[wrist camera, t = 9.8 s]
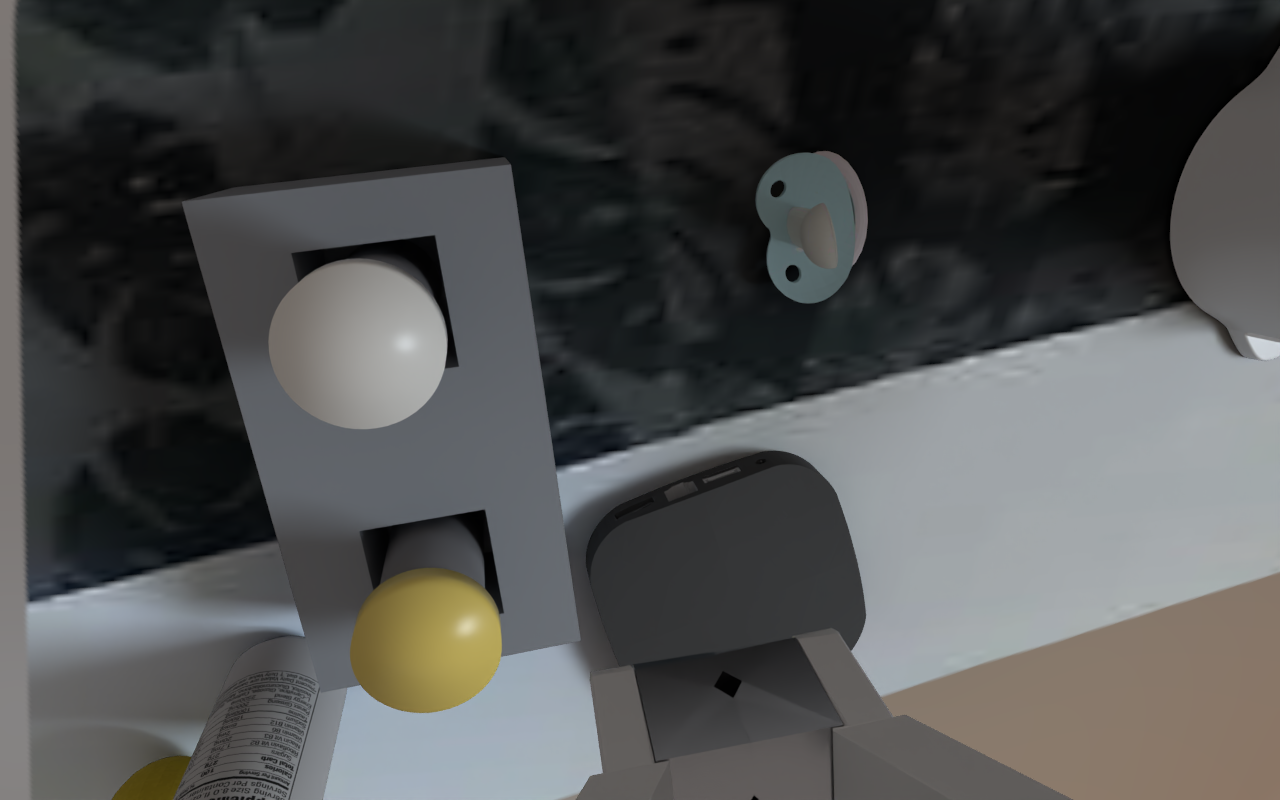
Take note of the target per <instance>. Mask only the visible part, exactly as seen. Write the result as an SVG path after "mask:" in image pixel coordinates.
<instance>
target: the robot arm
mask: <svg viewBox="0 0 1280 800" xmlns="http://www.w3.org/2000/svg"><path fill="white" fill-rule="evenodd" d="M1170 244H1171V253H1172V258H1173V263H1174V267H1175V270H1176V273H1177V276H1178V278H1179V280H1180V283H1181V285H1182V286H1183V288H1184V290H1185V291H1186V293H1187V294H1188V296H1189V297H1190V298H1191V299H1192V300H1193V302H1194V303H1195V304H1196V305H1197V306H1198V307H1200V308H1201V309H1202V310H1203V311H1205V312H1206V313H1208V314H1209V315H1211V316H1212V317H1214V318H1216V319H1217V320H1219V321H1220V322H1221V323H1223V324H1224V325H1225V326H1226V327H1227V329H1228V331H1229V333H1230V336H1231V338H1232V340H1233V342H1234V344H1235V346H1236V347H1237V349H1238V351H1239V352H1240V353H1241V354H1242V355H1243V356H1244V357H1246V358H1249V359H1254V360H1260V361H1269V360H1272V359H1275V358H1278V357H1280V47H1279V49H1278V50H1277V52H1276V54H1275V55H1274V57H1273V58H1272V60H1271V62H1270V63H1269V65H1268V66H1267V68H1266V69H1265V70H1264V71H1263V72H1262V74H1261V75H1260V76H1259V77H1257V78H1256V79H1255V80H1254V81H1253V82H1252V83H1251V84H1250V85H1248V86H1247V87H1246V88H1245V89H1243V90H1242V91H1241V92H1240V93H1239V94H1238V95H1236V96H1235V97H1234V98H1233V99H1232V100H1231V101H1230V102H1229V103H1228V104H1227V105H1226V106H1225V107H1224V108H1223V109H1222V110H1221V111H1220V112H1219V113H1218V114H1217V116H1216V117H1215V118H1214V119H1213V120H1212V122H1211V123H1210V124H1209V126H1208V127H1207V128H1206V130H1205V131H1204V132H1203V134H1202V135H1201V137H1200V138H1199V140H1198V142H1197V143H1196V145H1195V147H1194V149H1193V151H1192V152H1191V154H1190V156H1189V158H1188V160H1187V163H1186V165H1185V167H1184V170H1183V172H1182V175H1181V177H1180V180H1179V183H1178V186H1177V190H1176V194H1175V197H1174V202H1173V207H1172V214H1171V223H1170ZM590 684H591V691H592V698H593V705H594V712H595V719H596V726H597V733H598V741H599V748H600V755H601V762H602V769H603V773H602V774H597V775H593V776H590V777H589V779H588V781H587V782H586V784H585V786H584V787H583V789H582V790H581V792H580V794H579V795H578V797H577V799H576V800H1073V799H1071V798H1069V797H1067V796H1065V795H1063V794H1061V793H1059V792H1057V791H1055V790H1053V789H1051V788H1049V787H1047V786H1045V785H1043V784H1041V783H1039V782H1037V781H1035V780H1033V779H1031V778H1029V777H1027V776H1025V775H1023V774H1021V773H1019V772H1017V771H1015V770H1013V769H1011V768H1010V767H1008V766H1005V765H1004V764H1001V763H1000V762H998V761H996V760H993V759H992V758H990V757H988V756H986V755H984V754H982V753H980V752H978V751H976V750H974V749H972V748H970V747H968V746H966V745H964V744H962V743H960V742H958V741H956V740H954V739H952V738H950V737H948V736H946V735H944V734H943V733H940V732H939V731H937V730H935V729H933V728H931V727H929V726H927V725H925V724H923V723H921V722H919V721H916V720H915V719H913V718H911V717H909V716H907V715H901V716H896V717H893V716H892V714H891V712H890V711H889V709H888V708H887V706H886V705H885V703H884V702H883V700H882V699H881V697H880V696H879V694H878V692H877V691H876V689H875V688H874V686H873V685H872V683H871V682H870V680H869V679H868V677H867V675H866V674H865V672H864V671H863V669H862V668H861V666H860V665H859V663H858V662H857V660H856V659H855V657H854V655H853V654H852V652H851V651H850V649H849V648H848V646H847V645H846V643H845V642H844V640H843V639H842V637H841V635H840V634H839V632H838V631H836V630H834V629H832V628H829V629H824V630H820V631H815V632H810V633H805V634H801V635H796V636H792V638H788V639H782V640H777V641H772V642H766V643H761V644H755V645H750V646H745V647H739V648H734V649H729V650H723V651H718V652H708V653H702V654H696V655H689V656H683V657H677V658H670V659H664V660H658V661H651V662H645V663H639V664H633V668H632V667H631V665H628V666H622V667H616V668H610V669H605V670H599V671H593V672H590Z"/></svg>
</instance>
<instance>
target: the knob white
mask: <svg viewBox="0 0 1280 800" xmlns="http://www.w3.org/2000/svg"><path fill="white" fill-rule="evenodd" d="M440 294H441V281H440V276H439V272H438V270H437V267H436V265H435V264H434V262H433V260H432V259H431V258H430V256H429V255H428V254H427V253H426V252H425V251H424V250H422V249H421V248H420V247H418V246H417V245H415V244H414V243H411V242H409V241H407V240H404V239H400V240H391V241H383V242H375V243H367V244H362V245H361V246H359V247H358V248H357V249H356V250H355V251H354V252H353V253H352V254H351V255H350V256H349V257H348V258H347V259H345V260H339V261H335V262H332V263H329V264H326V265H324V266H322V267H319V268H317V269H315V270H314V271H312V272H311V273H309V274H308V275H306V276H305V277H304V278H303V279H302V280H301V281H300V282H299V283H298V284H296V285H295V286H294V287H293V288H292V289H291V290H290V291H289V292H288V293H287V294H286V296H285V297H284V298H283V299H282V301H281V302H280V304H279V306H278V307H277V309H276V311H275V314H274V316H273V318H272V322H271V326H270V330H269V340H268V343H269V355H270V360H271V364H272V367H273V370H274V373H275V375H276V377H277V379H278V381H279V383H280V384H281V386H282V387H283V389H284V390H285V392H286V393H287V394H288V395H289V397H290V398H291V399H292V400H293V401H294V402H295V403H296V404H297V405H298V406H300V407H301V408H302V409H303V410H305V411H306V412H308V413H309V414H311V415H312V416H314V417H316V418H318V419H320V420H322V421H324V422H327V423H329V424H332V425H336V426H340V427H343V428H351V429H374V428H380V427H385V426H389V425H392V424H394V423H397V422H400V421H402V420H404V419H406V418H408V417H409V416H411V415H412V414H414V413H415V412H417V411H418V410H419V409H420V408H421V407H422V406H423V405H424V404H425V403H426V402H427V401H428V400H429V399H430V398H431V396H432V395H433V393H434V392H435V390H436V389H437V387H438V385H439V383H440V381H441V378H442V375H443V372H444V368H445V362H446V355H447V342H448V337H447V329H446V324H445V320H444V317H443V315H442V312H441V310H440V307H439V306H438V305H439V300H440Z"/></svg>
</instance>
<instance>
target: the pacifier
mask: <svg viewBox="0 0 1280 800" xmlns="http://www.w3.org/2000/svg"><path fill="white" fill-rule="evenodd" d="M778 180H781V181H782V182H783V183H784V190H783V192H782V193H781V194H780V195H779V196H778V197H773V196H772V195H771V192H770V190H771V186H772V185H773V183H775V182H776V181H778ZM755 202H756V209H757V212H758V214H759V217H760V219H761V220H762V222H763V223H764V225H765V226H766V227H767V228H768V229H769V231H770V240H769V243H768V246H767V253H766V262H767V268H768V272H769V275H770V277H771V279H772V281H773V283H774V284H775V286H776V287H777V288H778V289H779V290H780V291H781V292H782V293H783V294H784V295H785V296H787V297H788V298H790V299H792V300H794V301H797V302H800V303H817V302H820V301H823V300H825V299H827V298H829V297H830V296H832V295H833V294H834V293H835V292H836V291H838V289H839V288H840V287H841V286H842V285H843V283H844V282H845V280H846V279H847V277H848V275H849V272H850V270H851V267H852V266H853V265H854V264H855V263H856V261H857V259H858V257H859V255H860V253H861V252H862V249H863V246H864V242H865V239H866V233H867V224H868V215H867V203H866V199H865V195H864V190H863V187H862V185H861V183H860V181H859V178H858V176H857V174H856V173H855V171H854V170H853V168H852V167H851V166H850V164H849V163H848V162H847V161H846V160H844V159H843V158H842V157H841V156H840V155H838V154H835V153H832V152H830V151H819V152H815V153H796V154H792V155H789V156H786V157H784V158H782V159H780V160H779V161H777V162H775V163H774V164H773V165H772V166H771V167H770V168H769V169H768V170H767V171H766V172H765V173H764V175H763V176H762V178H761V180H760V182H759V184H758V187H757V190H756V197H755ZM790 265H796V266H797V268H798V269H799V277H798V279H797V280H796V281H794V282H790V281H788V280H787V278H786V275H785V271H786V269H787V267H788V266H790Z"/></svg>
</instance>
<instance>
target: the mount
mask: <svg viewBox="0 0 1280 800" xmlns="http://www.w3.org/2000/svg"><path fill="white" fill-rule="evenodd" d="M182 205H183V209H184V212H185V216H186V219H187V223H188V226H189V230H190V233H191V237H192V241H193V244H194V248H195V251H196V255H197V258H198V262H199V265H200V269H201V272H202V276H203V279H204V283H205V286H206V290H207V293H208V297H209V300H210V304H211V307H212V311H213V314H214V318H215V321H216V325H217V329H218V332H219V336H220V339H221V343H222V346H223V350H224V353H225V357H226V360H227V364H228V367H229V371H230V374H231V378H232V381H233V385H234V388H235V392H236V395H237V399H238V402H239V406H240V409H241V413H242V417H243V420H244V424H245V427H246V431H247V434H248V438H249V441H250V445H251V448H252V452H253V455H254V459H255V462H256V466H257V469H258V473H259V476H260V480H261V483H262V487H263V490H264V494H265V497H266V501H267V504H268V508H269V512H270V515H271V519H272V522H273V526H274V529H275V533H276V536H277V540H278V543H279V547H280V550H281V554H282V557H283V561H284V564H285V568H286V571H287V575H288V578H289V582H290V585H291V589H292V592H293V596H294V600H295V603H296V607H297V610H298V614H299V617H300V621H301V624H302V628H303V631H304V635H305V638H306V642H307V645H308V649H309V652H310V656H311V659H312V663H313V666H314V670H315V673H316V677H317V680H318V684H319V688H320V691H321V693H323V692H328V691H333V690H338V689H343V688H348V687H353V686H358V685H360V683H359V682H358V680H357V679H356V677H355V675H354V672H353V669H352V666H351V661H350V646H351V640H352V636H353V632H354V627H355V623H356V619H357V616H358V613H359V610H360V608H361V606H362V604H363V603H364V601H365V600H366V598H367V597H368V596H369V595H370V594H371V592H372V591H373V590H374V589H376V588H377V587H378V586H379V585H380V582H381V577H382V572H383V567H384V562H385V557H386V552H387V547H388V542H389V538H390V533H391V528H392V525H398V524H403V523H409V522H415V521H421V520H426V519H432V518H438V517H444V516H449V515H455V514H461V513H467V512H472V511H478V510H483V528H484V574H485V589H486V590H487V592H488V593H489V594H490V595H491V597H492V598H493V600H494V601H495V604H496V606H497V608H498V611H499V615H500V622H501V639H502V652H501V657H502V656H507V655H512V654H517V653H522V652H527V651H532V650H537V649H542V648H547V647H552V646H557V645H562V644H567V643H572V642H577V641H581V638H580V631H579V625H578V618H577V611H576V604H575V597H574V591H573V584H572V577H571V570H570V563H569V557H568V550H567V543H566V536H565V529H564V523H563V516H562V509H561V502H560V495H559V489H558V482H557V475H556V468H555V461H554V455H553V448H552V441H551V434H550V427H549V421H548V414H547V407H546V400H545V394H544V387H543V380H542V373H541V366H540V360H539V353H538V346H537V339H536V332H535V326H534V319H533V312H532V305H531V298H530V292H529V285H528V278H527V271H526V264H525V258H524V251H523V244H522V237H521V230H520V224H519V217H518V210H517V203H516V196H515V190H514V183H513V176H512V169H511V164H510V163H509V162H508V161H507V159H506V158H505V157H501V158H492V159H483V160H474V161H465V162H456V163H447V164H438V165H430V166H421V167H412V168H403V169H394V170H385V171H376V172H367V173H358V174H349V175H340V176H331V177H322V178H313V179H305V180H296V181H287V182H278V183H269V184H260V185H251V186H242V187H234V188H230V189H226V190H223V191H219V192H215V193H212V194H208V195H204V196H201V197H197V198H194V199H190V200H186V201H183V202H182ZM400 239H404V240H407V241H409V242H411V243H414V244H415V245H417V246H418V247H420V248H421V249H422V250H424V251H425V252H426V253H427V254H428V255H429V256H430V258H431V259H432V260H433V262H434V264H435V265H436V267H437V270H438V272H439V276H440V281H441V294H440V300H439V305H438V306H439V307H440V310H441V312H442V315H443V317H444V320H445V324H446V329H447V337H448V342H447V355H446V362H445V368H444V372H443V375H442V378H441V381H440V383H439V385H438V387H437V389H436V390H435V392H434V393H433V395H432V396H431V398H430V399H429V400H428V401H427V402H426V403H425V404H424V405H423V406H422V407H421V408H420V409H419V410H418V411H417V412H415V413H414V414H412V415H411V416H409V417H408V418H406V419H404V420H402V421H400V422H397V423H394V424H392V425H389V426H385V427H380V428H374V429H351V428H343V427H340V426H336V425H332V424H329V423H327V422H324V421H322V420H320V419H318V418H316V417H314V416H312V415H311V414H309V413H308V412H306V411H305V410H303V409H302V408H301V407H300V406H298V405H297V404H296V403H295V402H294V401H293V400H292V399H291V398H290V397H289V395H288V394H287V393H286V392H285V390H284V389H283V387H282V386H281V384H280V383H279V381H278V379H277V377H276V375H275V373H274V370H273V367H272V364H271V360H270V355H269V343H268V340H269V330H270V326H271V322H272V318H273V316H274V314H275V311H276V309H277V307H278V306H279V304H280V302H281V301H282V299H283V298H284V297H285V296H286V294H287V293H288V292H289V291H290V290H291V289H292V288H293V287H294V286H295V285H296V284H298V283H299V282H300V281H301V280H302V279H303V278H304V277H305V276H306V275H308V274H309V273H311V272H312V271H314V270H315V269H317V268H319V267H322V266H324V265H326V264H329V263H332V262H335V261H339V260H345V259H347V258H348V257H349V256H350V255H351V254H352V253H353V252H354V251H355V250H356V249H357V248H358V247H359V246H361V245H362V244H367V243H375V242H383V241H391V240H400Z"/></svg>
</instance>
